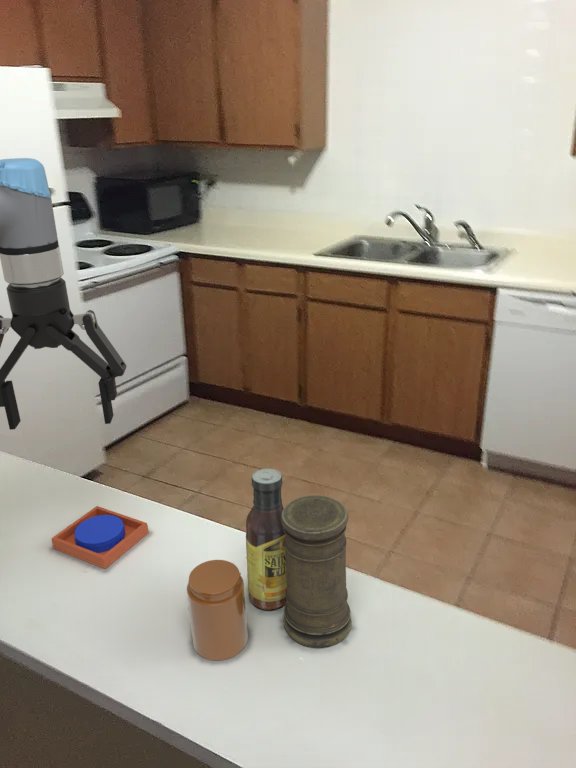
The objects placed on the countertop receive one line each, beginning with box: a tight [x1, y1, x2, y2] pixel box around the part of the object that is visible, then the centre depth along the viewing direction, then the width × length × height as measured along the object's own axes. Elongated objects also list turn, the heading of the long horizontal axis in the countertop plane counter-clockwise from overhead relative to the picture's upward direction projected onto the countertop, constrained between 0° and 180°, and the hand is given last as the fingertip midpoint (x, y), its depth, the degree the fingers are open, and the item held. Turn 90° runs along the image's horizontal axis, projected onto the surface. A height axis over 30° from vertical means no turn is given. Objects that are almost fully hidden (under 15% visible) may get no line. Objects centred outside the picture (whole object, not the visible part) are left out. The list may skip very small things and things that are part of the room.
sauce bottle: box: [245, 468, 287, 611], centre depth 91 cm, size 7×6×20 cm
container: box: [281, 494, 352, 649], centre depth 87 cm, size 9×9×18 cm
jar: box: [186, 559, 249, 662], centre depth 86 cm, size 7×7×10 cm
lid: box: [75, 515, 125, 553], centre depth 108 cm, size 8×8×2 cm
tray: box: [51, 505, 149, 570], centre depth 108 cm, size 11×10×2 cm
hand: (62, 422), depth 98 cm, fingers open, 13 cm apart
